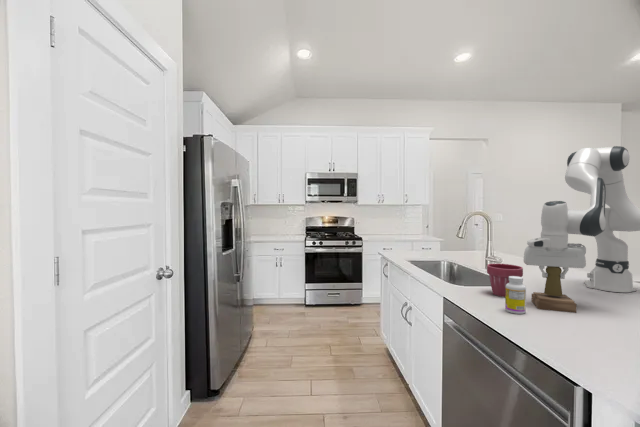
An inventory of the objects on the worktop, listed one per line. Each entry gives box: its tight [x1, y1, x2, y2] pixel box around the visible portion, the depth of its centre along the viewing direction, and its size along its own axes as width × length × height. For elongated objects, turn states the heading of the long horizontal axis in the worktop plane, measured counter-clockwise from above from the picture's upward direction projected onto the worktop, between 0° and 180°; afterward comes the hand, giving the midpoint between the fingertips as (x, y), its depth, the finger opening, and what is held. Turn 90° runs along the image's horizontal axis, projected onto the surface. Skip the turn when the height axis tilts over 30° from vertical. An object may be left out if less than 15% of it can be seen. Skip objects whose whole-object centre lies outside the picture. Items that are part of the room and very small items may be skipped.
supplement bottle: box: [504, 276, 527, 315], centre depth 128 cm, size 7×7×13 cm
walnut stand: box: [531, 291, 577, 314], centre depth 136 cm, size 12×12×4 cm
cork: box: [543, 266, 563, 296], centre depth 136 cm, size 6×6×11 cm
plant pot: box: [486, 263, 524, 298], centre depth 154 cm, size 14×14×13 cm
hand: (553, 278), depth 135 cm, fingers closed on cork, 4 cm apart
